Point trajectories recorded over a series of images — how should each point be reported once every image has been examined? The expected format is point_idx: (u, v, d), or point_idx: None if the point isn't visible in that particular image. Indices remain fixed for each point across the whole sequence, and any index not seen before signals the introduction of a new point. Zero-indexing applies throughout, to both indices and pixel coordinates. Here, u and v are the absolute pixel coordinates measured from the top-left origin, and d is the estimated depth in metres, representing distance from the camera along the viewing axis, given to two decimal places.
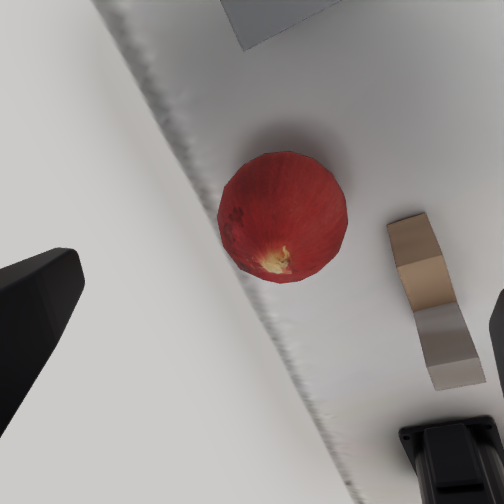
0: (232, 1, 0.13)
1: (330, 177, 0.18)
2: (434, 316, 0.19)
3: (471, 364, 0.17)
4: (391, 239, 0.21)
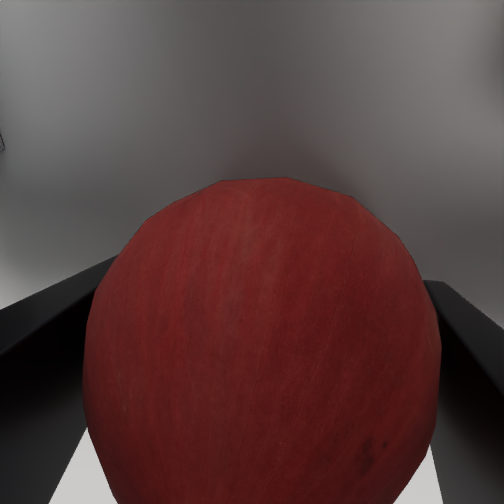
0: None
1: (194, 203, 0.06)
2: None
3: None
4: None
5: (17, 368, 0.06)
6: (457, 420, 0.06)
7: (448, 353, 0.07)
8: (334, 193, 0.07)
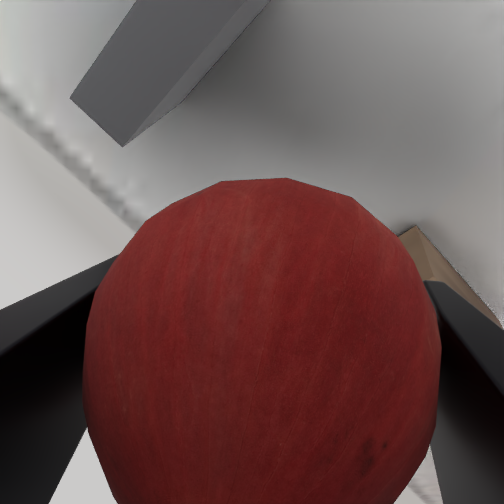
0: (91, 105, 0.12)
1: (194, 203, 0.06)
2: None
3: None
4: None
5: (17, 368, 0.06)
6: (457, 420, 0.06)
7: (448, 353, 0.07)
8: (334, 194, 0.07)
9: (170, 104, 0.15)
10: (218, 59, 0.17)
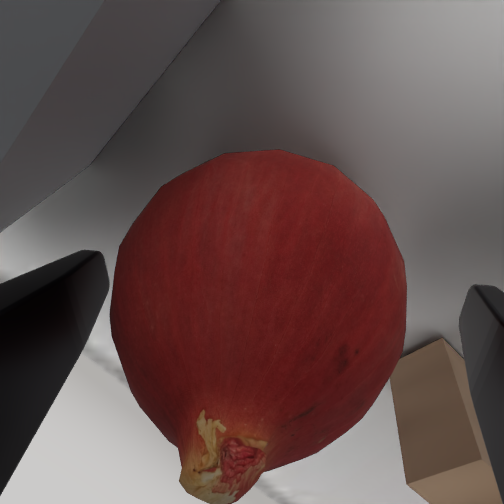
0: None
1: (202, 170, 0.07)
2: None
3: None
4: (395, 402, 0.13)
5: None
6: None
7: None
8: (319, 162, 0.08)
9: (41, 190, 0.09)
10: (136, 104, 0.11)
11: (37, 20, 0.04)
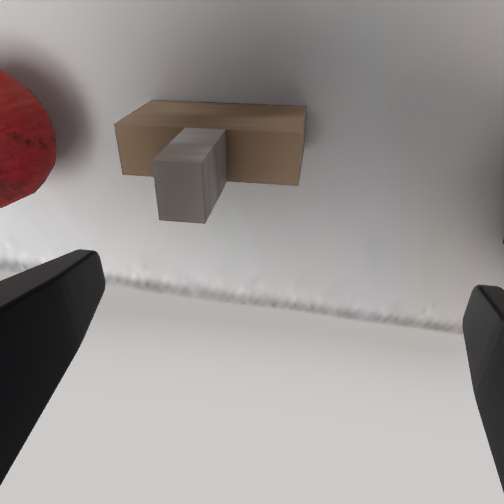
0: None
1: None
2: None
3: (163, 171, 0.13)
4: None
5: None
6: None
7: None
8: None
9: None
10: None
11: None
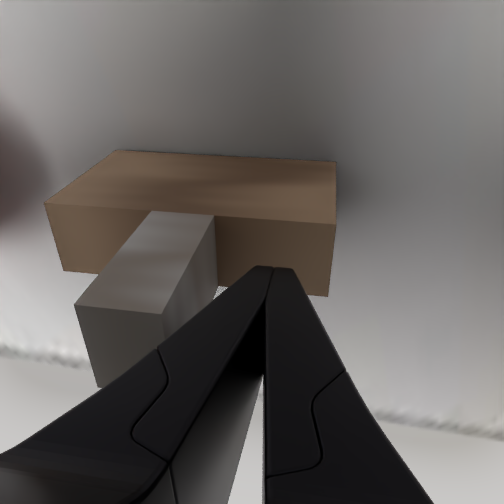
0: None
1: None
2: None
3: (96, 322, 0.07)
4: None
5: (220, 395, 0.06)
6: None
7: None
8: None
9: None
10: None
11: None
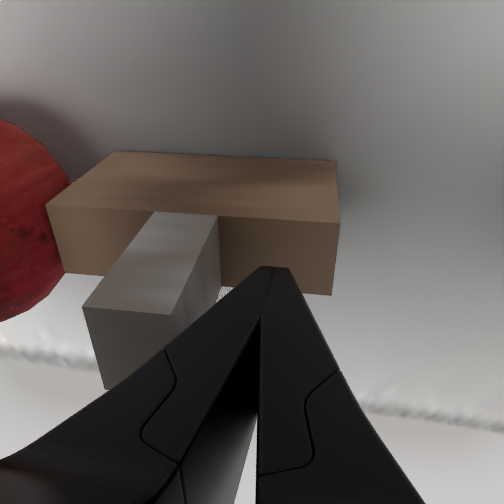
0: None
1: None
2: None
3: (104, 324, 0.07)
4: None
5: (228, 396, 0.06)
6: None
7: None
8: None
9: None
10: None
11: None
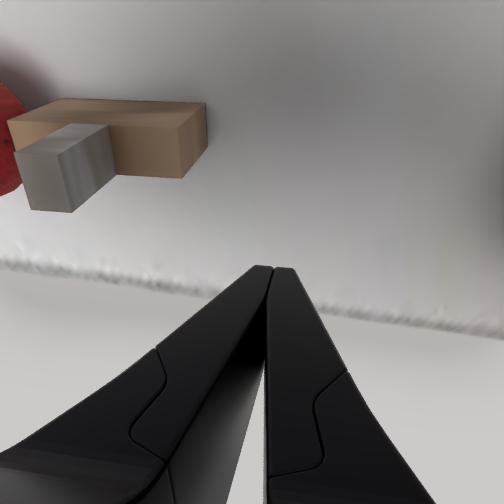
0: None
1: None
2: None
3: (25, 163, 0.13)
4: None
5: (219, 395, 0.06)
6: None
7: None
8: None
9: None
10: None
11: None
